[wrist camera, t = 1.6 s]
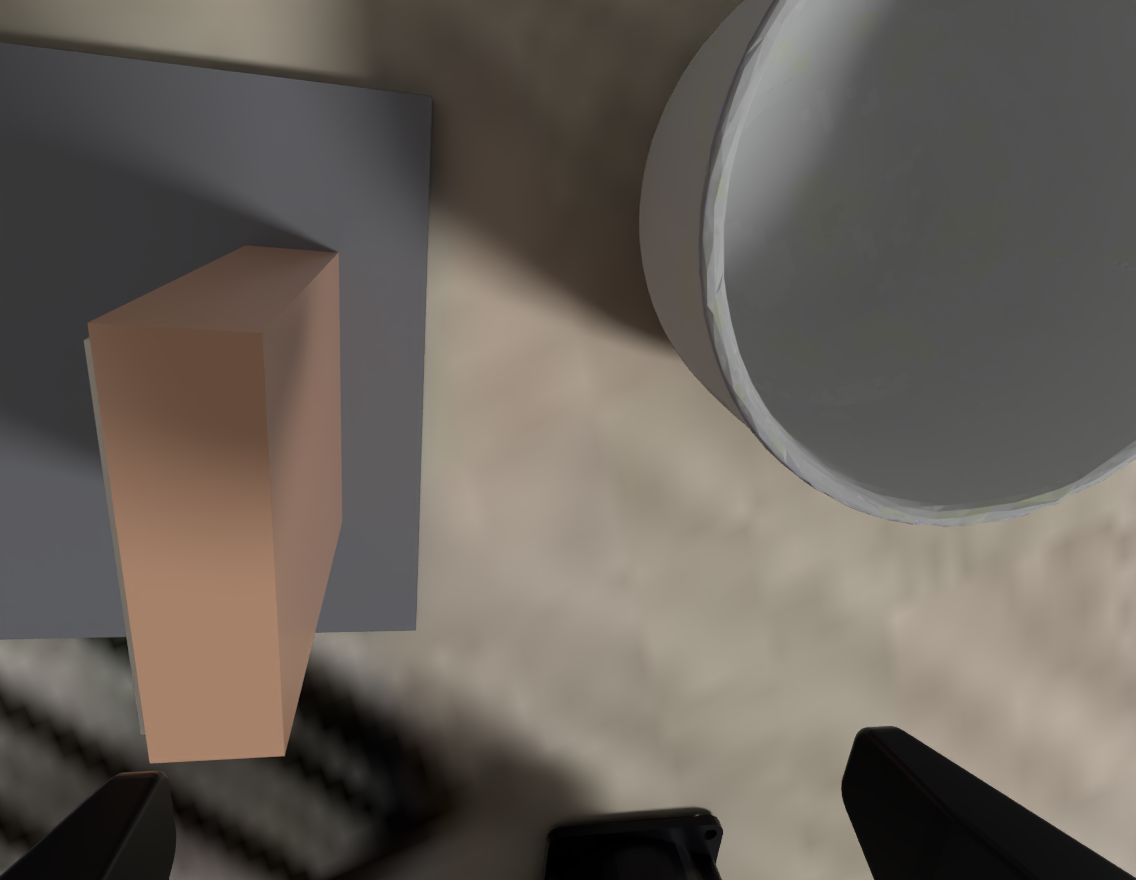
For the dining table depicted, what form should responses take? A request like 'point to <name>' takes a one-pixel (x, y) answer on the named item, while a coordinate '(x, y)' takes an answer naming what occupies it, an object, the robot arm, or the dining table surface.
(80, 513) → the mat
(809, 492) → the dining table surface
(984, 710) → the dining table surface
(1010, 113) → the teacup
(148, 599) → the tile
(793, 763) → the dining table surface
